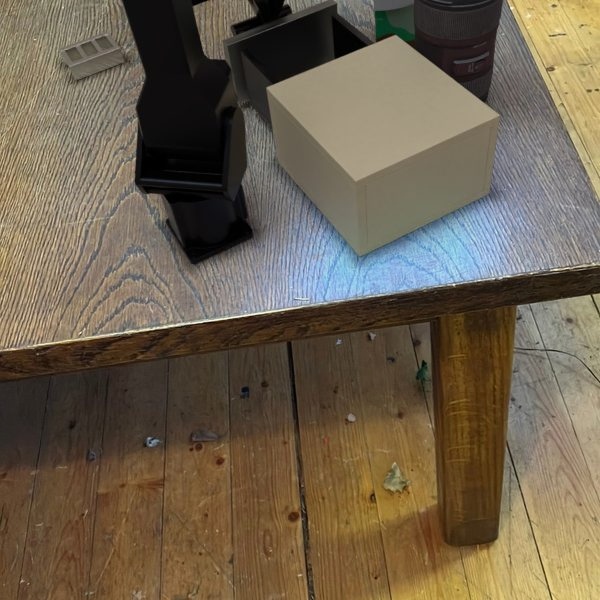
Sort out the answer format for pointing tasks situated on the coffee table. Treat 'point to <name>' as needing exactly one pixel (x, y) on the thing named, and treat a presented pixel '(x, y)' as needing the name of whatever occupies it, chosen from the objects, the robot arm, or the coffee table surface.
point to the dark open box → (286, 49)
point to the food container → (395, 20)
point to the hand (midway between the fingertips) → (268, 30)
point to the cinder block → (92, 55)
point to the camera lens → (459, 39)
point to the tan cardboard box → (383, 141)
